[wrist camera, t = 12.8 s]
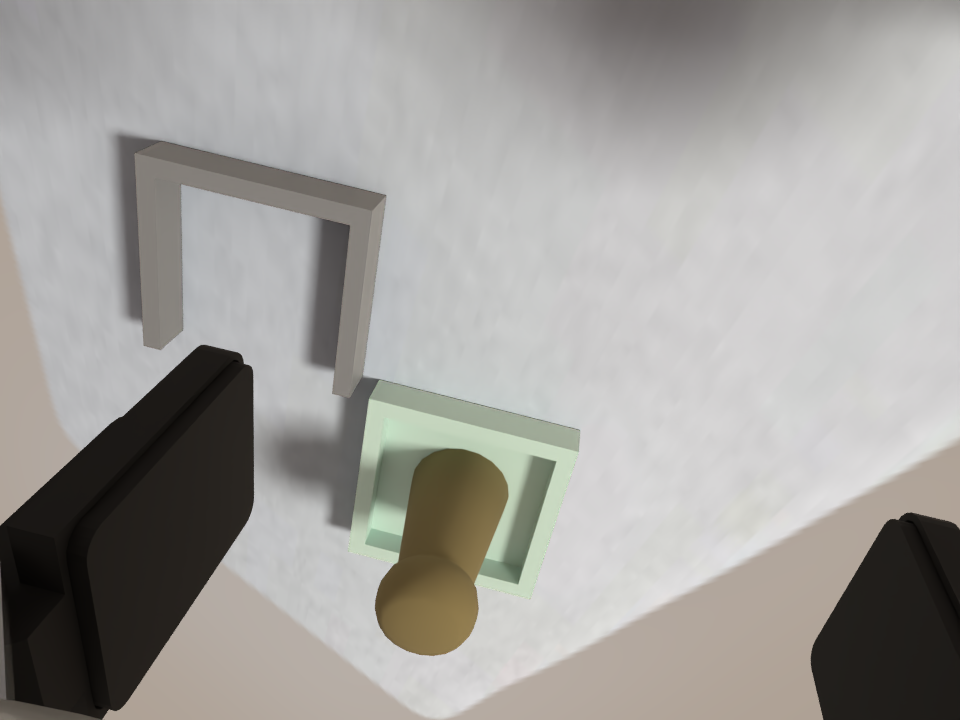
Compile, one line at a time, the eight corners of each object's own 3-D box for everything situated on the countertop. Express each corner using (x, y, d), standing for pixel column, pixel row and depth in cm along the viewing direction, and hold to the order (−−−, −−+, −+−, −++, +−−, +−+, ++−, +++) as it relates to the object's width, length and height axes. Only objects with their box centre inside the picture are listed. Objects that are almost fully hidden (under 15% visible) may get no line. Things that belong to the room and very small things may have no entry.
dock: (386, 195, 38) (372, 210, 36) (362, 375, 43) (349, 398, 41) (161, 141, 38) (134, 153, 36) (166, 325, 44) (143, 345, 42)
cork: (453, 430, 43) (408, 567, 34) (529, 491, 45) (506, 639, 35) (392, 486, 46) (335, 626, 37) (466, 541, 48) (429, 691, 38)
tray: (580, 430, 43) (578, 451, 41) (533, 575, 49) (530, 599, 47) (379, 379, 43) (368, 398, 41) (357, 529, 49) (347, 551, 48)
